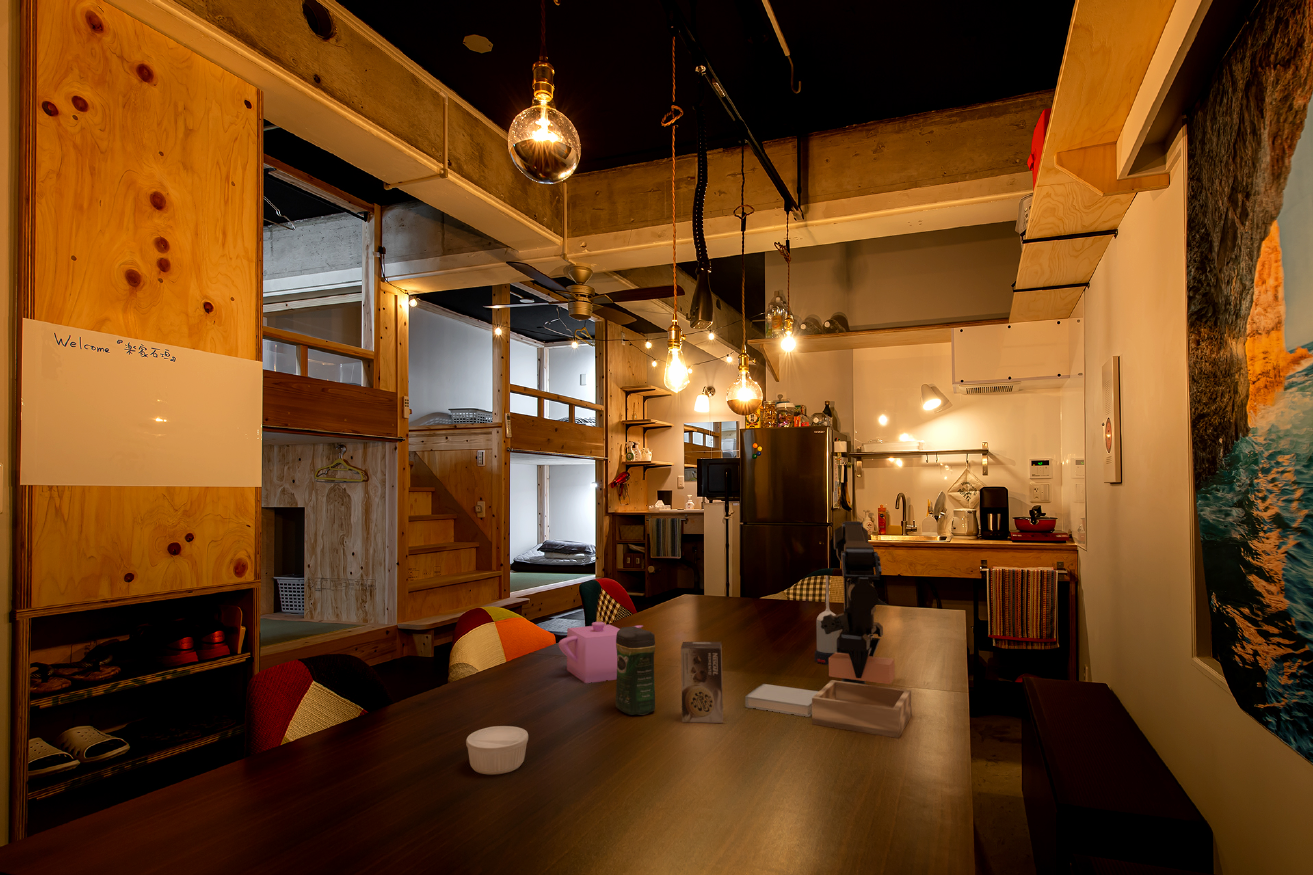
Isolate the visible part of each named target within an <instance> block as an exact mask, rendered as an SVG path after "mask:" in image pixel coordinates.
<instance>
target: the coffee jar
mask: <svg viewBox="0 0 1313 875" xmlns="http://www.w3.org/2000/svg"><path fill="white" fill-rule="evenodd" d="M635 626H636V625H634V626H625V627H624V626H623V627H620V628H619V629H620V630H619V631H618V632H617V636H616V649H617V679H616V683H615V684H616V685H615V686H616V687H615V707H616V708H617V710H620V712H623V713H625V714H628V715H631V716H632V715H639V716H644V715H648V714H649V713H652V712H654V711H655V709H656V689H655V687H656V686H655V651H656V639H655V633H653V632H651V630H645V629H643V628H637V627H635Z"/></svg>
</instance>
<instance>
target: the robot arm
mask: <svg viewBox="0 0 1313 875" xmlns="http://www.w3.org/2000/svg"><path fill="white" fill-rule="evenodd" d="M833 532H834V533H833V549H834V550H836V556H837V558H838V560H839V561H840V564H841V570H842V572H841V573H842V580H843V612H842V613H839V614H836V615H835V616H833V615H832V614H830V615H827V616H824V617H823V620H822V621H821V628H822V629H824V631H825V634H826V635H827V634H831V632H835V631H838V630H840V631H839V637H838V638H837V640H836V653H845V654H849V656H850V659H851V662H852V665H853V669H854V672H855V676H856V678H861V677H862V675H863V672H864V669H865V666H866V663H867V660H868V657H869V656H872V657H875V654H876V652H877V651H876V650H877V649H878V647H879V646H878V645H879V643H880V641H881V637H883V635H884V627H883V625H882V624H881V623H880V622H878V621H877V622H876V621H875V613H876V612H877V609H876V608H877V607H876V606H877V604H878V602H879V598H880V597H879V593H878V590H877V589H876V588H875V586H874V582H873V580H880V578H881V577H880V576H882V573H883V572H882V564H881V558H880V556H879V553H878V551H875V549H874V548H875V547H874V546H873V544H871V543H870V542H869V531H868V530H867V529H866V528H865V527H864V523H863V521H862V522H861V521H859V520H856V521H854V520H852V521H847V520H845V521H844V522H841V525H840V526H839V527H837V528H836V529H834V530H833ZM875 635H877V637H875ZM841 681H842V682H850V683H857V684H865V685H869V684H868V683H866V681H861V680H854V679H846V678H841Z"/></svg>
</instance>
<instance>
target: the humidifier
mask: <svg viewBox="0 0 1313 875" xmlns="http://www.w3.org/2000/svg"><path fill="white" fill-rule="evenodd" d="M829 588H830V587H829V576H828V575H826V576H825V610H824V611H822V612H821V613H819V615H818V616H817V618H816V649H815V650H814V662H815V663H816V662H817V664H820V665H827V666H829V657H830V656H832V655H833V654H834V653H835V652H836V640H837V638H838V637H839V631H840V630H838V631H835V632H831V634H827V635H826V634H825V631H824V629H822V628H821V621H822V620H823V617H824V616H827V615H830V614H832V615H833V616H835V615H837V614H835V613H834V612H832V611H831V610H830V592H829V591H830V590H829Z"/></svg>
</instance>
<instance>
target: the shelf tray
mask: <svg viewBox="0 0 1313 875" xmlns="http://www.w3.org/2000/svg"><path fill="white" fill-rule="evenodd" d="M865 684H866V683H865ZM865 684H857V683H850V682H842V680H840V681H839V680H834V679H832V680H830V681H829V682H828V683H827V684H826V685H825V686H823V688H821V689H820V690H819V691H818V693H817V694H816V695H815V696H814V697H813V698H812V714H811V716H812V717H811V719H812V723H811V724H812V725H813V726H814V725H815V726H822V727H827V728H833V727H834V729H839V730H840V729H841V730H845V729H846V731H853V732H859V733H863V734H872V735H876V736H882V737H889V738H894V739H895V738H896V739H899V738H900V737H901V735H902V734H903V732H904V730H905V728H906V726H907V725H908V724H909V723H908V722H909V721H910V720H911V717H912V715H913V713H912V690H910V689H902V688H894V687H886V686H879V685H873V684H872V685H871V684H868V685H865Z"/></svg>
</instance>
